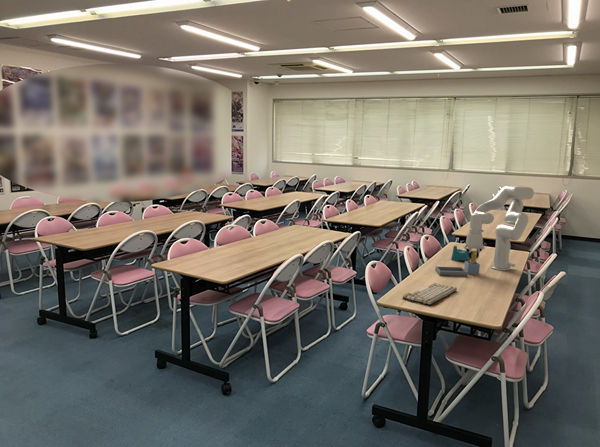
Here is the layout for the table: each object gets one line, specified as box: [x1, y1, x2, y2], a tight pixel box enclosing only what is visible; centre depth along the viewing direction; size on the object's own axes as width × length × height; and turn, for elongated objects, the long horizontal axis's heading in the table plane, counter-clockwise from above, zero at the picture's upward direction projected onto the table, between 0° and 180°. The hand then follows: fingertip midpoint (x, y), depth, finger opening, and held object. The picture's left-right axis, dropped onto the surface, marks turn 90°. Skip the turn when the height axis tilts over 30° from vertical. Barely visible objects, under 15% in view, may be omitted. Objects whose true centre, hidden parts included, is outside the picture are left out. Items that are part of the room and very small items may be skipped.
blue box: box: [463, 260, 481, 275], centre depth 318 cm, size 8×8×7 cm
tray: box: [434, 265, 468, 278], centre depth 315 cm, size 18×12×3 cm, turn 88°
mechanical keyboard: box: [401, 282, 458, 308], centre depth 269 cm, size 38×19×3 cm, turn 140°
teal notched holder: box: [450, 245, 470, 262], centre depth 356 cm, size 18×11×10 cm, turn 149°
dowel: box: [469, 249, 477, 264], centre depth 318 cm, size 4×4×13 cm
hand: (473, 257), depth 317 cm, fingers closed on dowel, 4 cm apart
